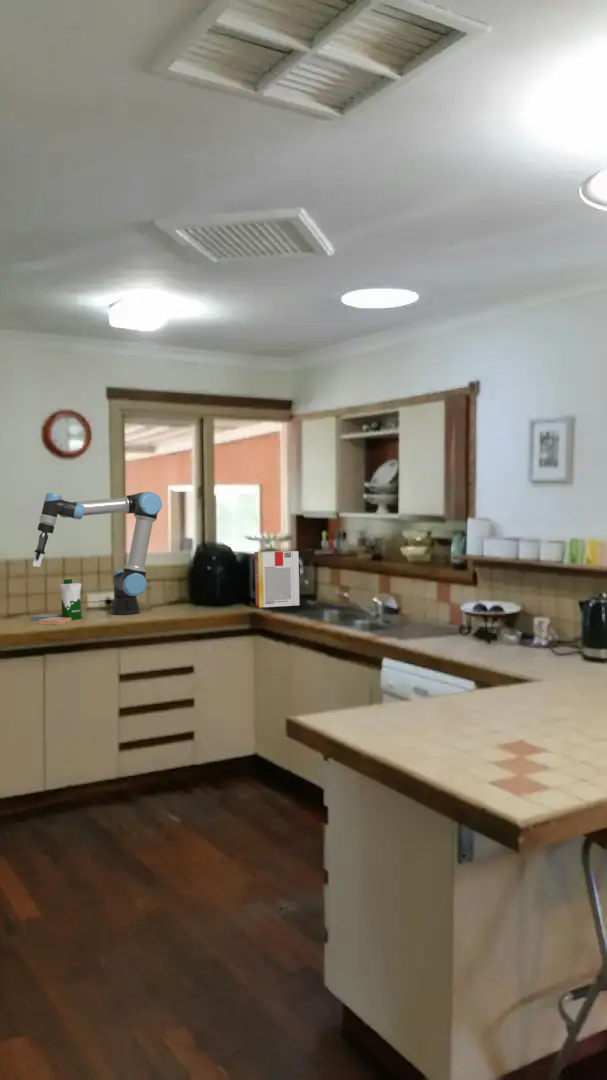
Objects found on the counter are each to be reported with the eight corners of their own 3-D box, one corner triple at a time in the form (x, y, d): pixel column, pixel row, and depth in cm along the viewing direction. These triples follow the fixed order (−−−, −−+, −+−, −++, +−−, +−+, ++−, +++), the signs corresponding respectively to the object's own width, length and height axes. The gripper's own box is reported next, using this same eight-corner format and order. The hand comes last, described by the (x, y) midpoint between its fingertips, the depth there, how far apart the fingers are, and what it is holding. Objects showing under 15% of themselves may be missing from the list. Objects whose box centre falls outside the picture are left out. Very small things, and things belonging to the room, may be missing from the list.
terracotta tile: (71, 621, 422) (71, 617, 422) (58, 624, 411) (58, 620, 411) (52, 620, 425) (52, 616, 425) (38, 624, 415) (38, 619, 415)
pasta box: (295, 603, 479) (294, 550, 478) (299, 605, 472) (298, 551, 470) (255, 605, 473) (254, 551, 471) (259, 607, 465) (258, 552, 464)
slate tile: (61, 618, 434) (61, 614, 434) (48, 621, 424) (48, 617, 424) (43, 617, 438) (43, 613, 438) (30, 620, 428) (30, 616, 428)
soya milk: (73, 617, 437) (72, 578, 436) (84, 618, 432) (83, 579, 431) (59, 619, 430) (58, 580, 429) (70, 620, 425) (69, 580, 424)
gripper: (40, 523, 429) (30, 564, 428) (37, 521, 405) (26, 564, 403) (55, 527, 431) (45, 567, 429) (53, 524, 407) (42, 568, 405)
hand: (36, 566), depth 416 cm, fingers open, 13 cm apart
